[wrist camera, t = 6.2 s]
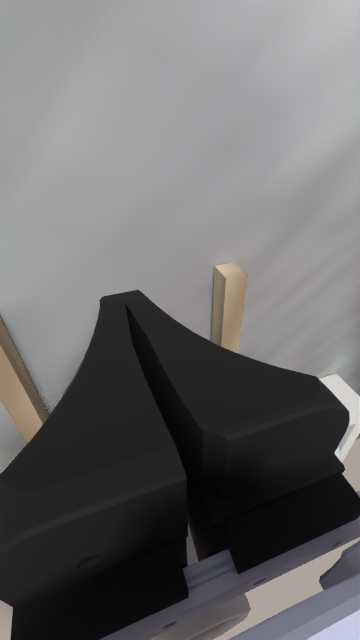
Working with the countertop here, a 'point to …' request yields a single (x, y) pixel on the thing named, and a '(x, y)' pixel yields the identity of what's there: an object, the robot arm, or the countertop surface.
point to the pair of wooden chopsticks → (22, 397)
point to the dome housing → (353, 402)
